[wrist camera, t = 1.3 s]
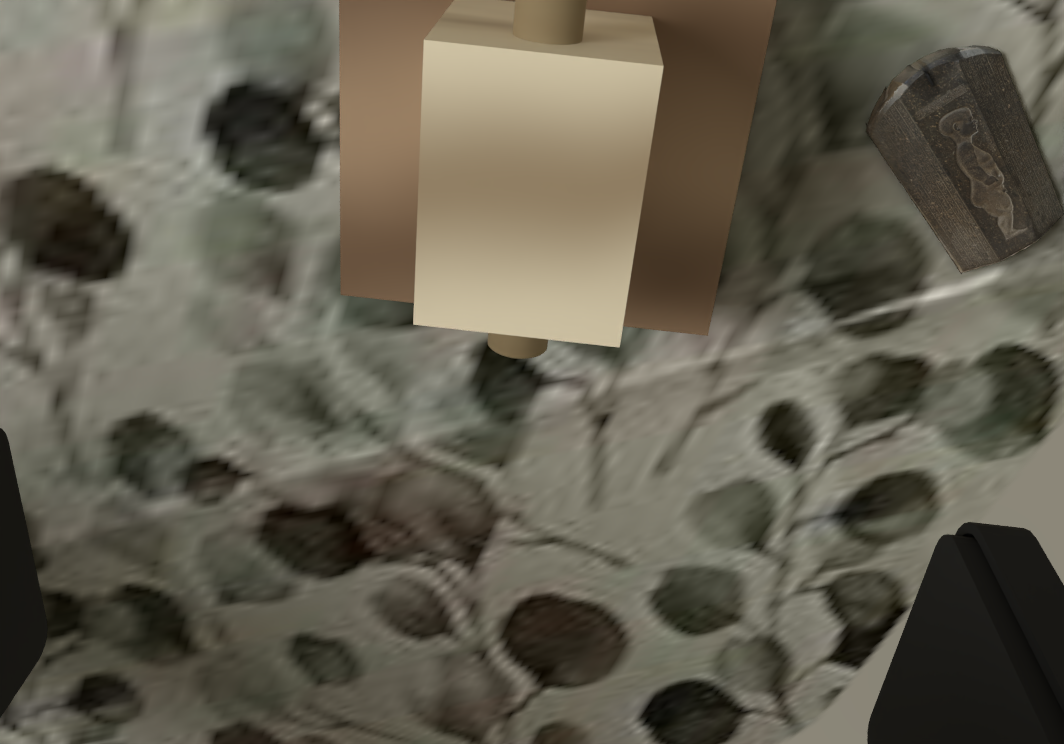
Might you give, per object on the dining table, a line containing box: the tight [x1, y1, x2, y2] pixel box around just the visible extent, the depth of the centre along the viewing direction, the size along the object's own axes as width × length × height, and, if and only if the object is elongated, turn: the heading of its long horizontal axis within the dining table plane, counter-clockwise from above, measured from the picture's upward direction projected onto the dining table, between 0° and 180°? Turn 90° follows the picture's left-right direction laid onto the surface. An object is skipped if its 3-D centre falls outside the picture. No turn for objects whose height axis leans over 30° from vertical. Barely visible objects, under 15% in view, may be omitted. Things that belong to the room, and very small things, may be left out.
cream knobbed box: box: [413, 0, 664, 359], centre depth 22 cm, size 8×4×5 cm, turn 175°
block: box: [866, 46, 1064, 274], centre depth 26 cm, size 4×6×2 cm, turn 38°
